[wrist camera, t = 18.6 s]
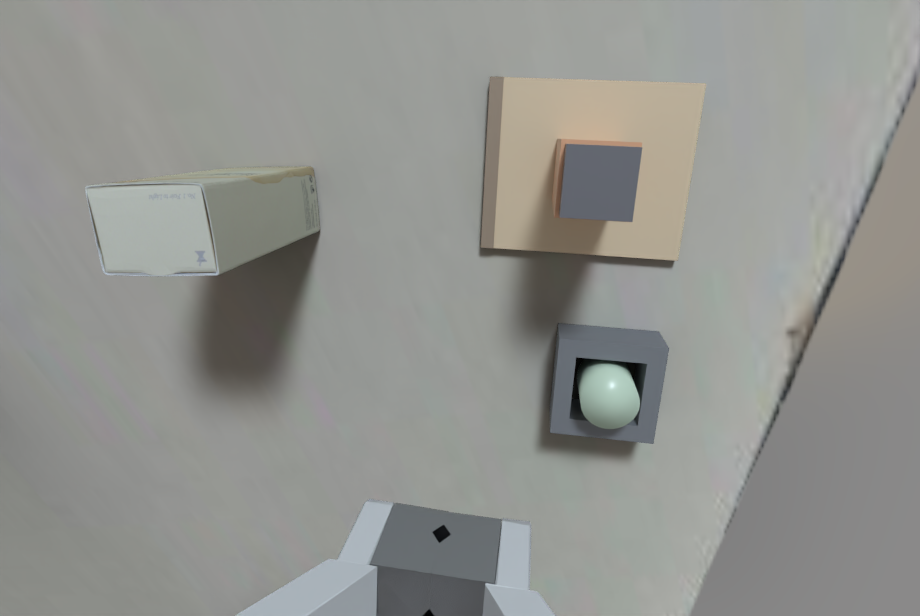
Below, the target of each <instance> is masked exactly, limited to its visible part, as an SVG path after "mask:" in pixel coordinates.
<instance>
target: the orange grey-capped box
mask: <svg viewBox="0 0 920 616" xmlns="http://www.w3.org/2000/svg"><path fill="white" fill-rule="evenodd" d="M641 154H642V142H621V141H598V140H576V139H557V148H556V159H555V170H554V181H553V193H552V206H553V213H554V218H568V219H585V220H601V221H617V222H633V214H634V207H635V199H636V192H637V184H638V177H639V169H640V162H641Z"/></svg>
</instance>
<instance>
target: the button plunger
mask: <svg viewBox="0 0 920 616" xmlns="http://www.w3.org/2000/svg"><path fill="white" fill-rule="evenodd" d="M577 383H578V390H579V397H580V404H581V409H582V412H583V414H584V416H585V417H586V419H587V420H588V421H589V422H591V423H592V424H593V425H595V426H597V427H600V428H604V429H616V428H620V427H623V426H625V425H627V424H628V423H630V422H631V421H632V420H633V419H634V418H635V417H636V415H637V413H638V411H639V407H640V398H639V395H638V392H637V389H636V387H635V384H634V381H633V379H632V376H631V373H630V371H629V368H628V366H627V364H626V362H622V361H611V360H600V359H589V358H585V359H584V360H583V361H582V362H581V364H580V365H579V367H578V370H577Z"/></svg>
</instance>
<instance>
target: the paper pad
mask: <svg viewBox="0 0 920 616" xmlns="http://www.w3.org/2000/svg"><path fill="white" fill-rule="evenodd" d="M705 89H706V84H705V83H673V82H641V81H609V80H577V79H545V78H513V77H490V85H489V103H488V122H487V140H486V159H485V178H484V196H483V215H482V233H481V248H500V249H514V250H529V251H543V252H558V253H572V254H587V255H602V256H616V257H631V258H645V259H660V260H674V261H678V256H679V250H680V244H681V238H682V231H683V225H684V219H685V213H686V207H687V200H688V194H689V188H690V182H691V175H692V169H693V163H694V157H695V151H696V144H697V138H698V132H699V126H700V120H701V113H702V107H703V101H704V95H705ZM557 139H576V140H598V141H621V142H642V154H641V162H640V169H639V177H638V184H637V192H636V199H635V207H634V214H633V222H617V221H601V220H585V219H568V218H554V213H553V206H552V193H553V181H554V170H555V159H556V148H557Z"/></svg>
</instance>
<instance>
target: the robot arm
mask: <svg viewBox="0 0 920 616" xmlns="http://www.w3.org/2000/svg"><path fill="white" fill-rule="evenodd" d="M501 521H502V524H501ZM500 532H501V534H500ZM499 543H500V544H499ZM498 553H499V554H498ZM530 557H531V523H530V521H522V520H514V519H505V518H503V519H497V518H490V517H483V516H475V515H468V514H461V513H454V512H448V511H443V510H437V509H431V508H425V507H419V506H413V505H407V504H401V503H393V502H387V501H380V500H374V499H369V500H368V501H366V502H365V503H364V505H363V507H362V509H361V511H360V513H359V515H358V517H357V519H356V521H355V523H354V525H353V527H352V529H351V531H350V534H349V536H348V538H347V540H346V542H345V544H344V546H343V548H342V550H341V552H340V554H339V556H338V558H337V560H333V559H328V560H326V561H324V562H323V563H321V564H319V565H318V566H316V567H314V568H313V569H311V570H309V571H308V572H306V573H304V574H303V575H301V576H299V577H298V578H296V579H294V580H293V581H291V582H290V583H288V584H286V585H285V586H283V587H281V588H280V589H278V590H276V591H275V592H273V593H271V594H270V595H268V596H266V597H265V598H263V599H261V600H260V601H258V602H257V603H255V604H253V605H252V606H250V607H248V608H247V609H245V610H243V611H242V612H240V613H238V614H237V615H235V616H556V615H555V614H554V613H553V611H552V610H551V608H550V607H549V606H548V604H547V603H546V602H545V600H544V599H543V597H542V596H541V595H540V593H539V592H537V591H532V590H530Z"/></svg>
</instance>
